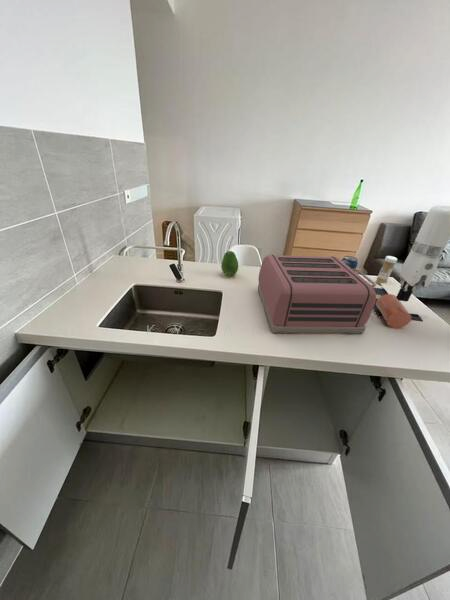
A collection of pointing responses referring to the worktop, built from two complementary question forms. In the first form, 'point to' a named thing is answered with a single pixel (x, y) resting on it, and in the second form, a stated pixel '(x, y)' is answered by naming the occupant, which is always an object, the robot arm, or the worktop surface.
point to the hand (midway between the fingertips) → (401, 299)
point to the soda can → (350, 261)
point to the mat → (383, 292)
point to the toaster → (314, 295)
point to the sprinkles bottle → (386, 269)
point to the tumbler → (393, 311)
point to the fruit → (229, 263)
